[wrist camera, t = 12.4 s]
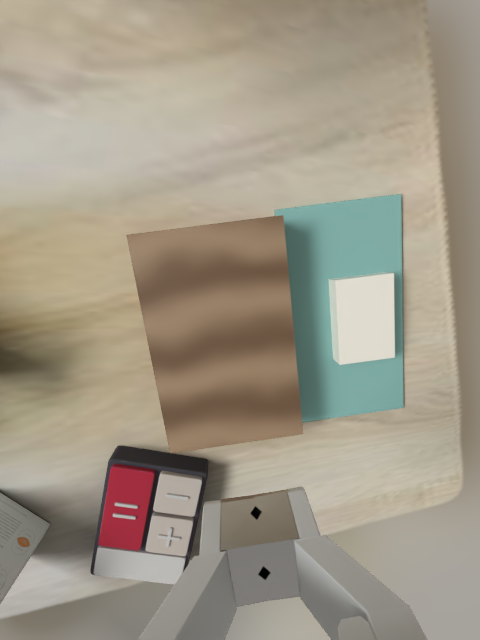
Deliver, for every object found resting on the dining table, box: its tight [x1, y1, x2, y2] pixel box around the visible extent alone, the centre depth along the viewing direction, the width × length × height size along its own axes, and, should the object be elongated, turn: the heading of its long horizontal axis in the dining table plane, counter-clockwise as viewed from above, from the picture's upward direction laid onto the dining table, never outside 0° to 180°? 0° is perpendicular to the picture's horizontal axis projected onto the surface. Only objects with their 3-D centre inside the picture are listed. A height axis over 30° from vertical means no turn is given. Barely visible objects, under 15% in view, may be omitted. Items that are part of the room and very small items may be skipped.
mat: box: [275, 194, 403, 422], centre depth 33 cm, size 24×13×1 cm, turn 7°
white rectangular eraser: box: [328, 272, 395, 365], centre depth 32 cm, size 9×6×2 cm, turn 7°
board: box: [127, 215, 303, 453], centre depth 31 cm, size 22×14×4 cm, turn 7°
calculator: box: [91, 446, 208, 584], centre depth 35 cm, size 11×4×15 cm
